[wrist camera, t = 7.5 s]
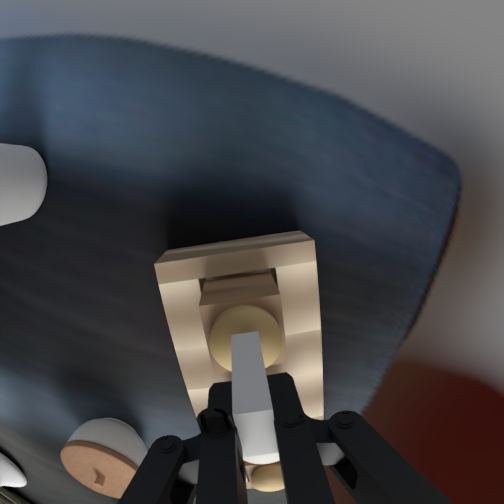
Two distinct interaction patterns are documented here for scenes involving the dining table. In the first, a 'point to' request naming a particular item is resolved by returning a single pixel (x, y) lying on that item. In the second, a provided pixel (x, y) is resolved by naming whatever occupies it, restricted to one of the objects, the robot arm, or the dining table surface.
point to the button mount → (239, 264)
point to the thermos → (10, 497)
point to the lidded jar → (104, 455)
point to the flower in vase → (10, 473)
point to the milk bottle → (20, 182)
